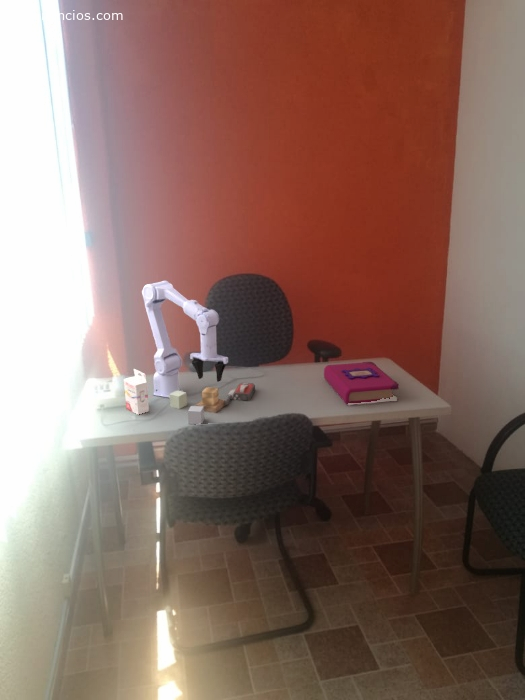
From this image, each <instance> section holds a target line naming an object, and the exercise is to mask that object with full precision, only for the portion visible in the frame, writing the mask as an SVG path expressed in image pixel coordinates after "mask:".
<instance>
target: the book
mask: <svg viewBox="0 0 525 700" xmlns="http://www.w3.org/2000/svg"><path fill="white" fill-rule="evenodd" d="M323 378H324V380H325V382H327V383H328V384H329V386H330V387H331V386H332V387H331V388H332V389H333V390H334V391H335V393H338V394H337V395H338V396H339V397H340V398H341V399H342V400H344V401H343V402H344V403H345V404H346V405H347V404H348V403H361V402H371V401H377V400H380V399H382V398H384V399H386V398H389V399H390V397H393V395H394V394H393V390H398V389H399V383H398V382H397V381H395V380H394V379H392V377H390V376H389V375H388V374H387V373H386V372H385V371H383V370H382V369H381V368H379V366H377V364H375V362H372V361H362V362H353V363H352V362H351V363H341V364H340V363H338V364H337V363H336V364H328V365H326V366H325V367H324V369H323ZM392 394H393V395H392Z"/></svg>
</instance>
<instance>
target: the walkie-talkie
mask: <svg viewBox="0 0 525 700" xmlns="http://www.w3.org/2000/svg"><path fill="white" fill-rule="evenodd" d="M255 391H256V385H255V384H254V383H252V382H241V383H239V384H238V386H237V387H236V388H234V389H231V390H230V391H229V392H228V394H227V399H226V400H225V404H224V406H227V405H228V404H229V402H230V400H234V401H236V400H238V401H244V402H245V401H250V400H251V398H252V397H253V395H254V393H255Z"/></svg>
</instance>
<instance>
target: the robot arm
mask: <svg viewBox="0 0 525 700" xmlns="http://www.w3.org/2000/svg"><path fill="white" fill-rule="evenodd" d="M141 294H142V299H143V302H144V307H145V310H146V315H147V318H148V321H149V324H150V328H151V332H152V336H153V338H154V343H155V346H156V349H157V351H156V352H155V353H154V355H153V361H154V369H155V372H154V375H153V377H152V378H153V379H152V380H153V381H152V382H153V394H152V395H153V396H157V397H164V398H169V394H171V393H173V392H175V391H177V390H178V391H182V392H185V390H184V389H180V378H179V375H180V374H179V372H180V368H181V367H182V365H183V359H182V357H181V356H180V354H179V352H178V349H176V348H175V347H173V346H172V344H171V341H170V340H171V339H170V336H169V334H168V330H167V327H166V326H167V325H166V323H165V319H164V316H163V312H162V308H161V307H162V305H163V304H164V302H165V301H166V300H169V301H170V302H172V303H174V304H176V305H177V306H178V307H181V308H182V310H183V313H184V314H185V315H186V316H188V317H189V318H190V319H192V320H193V321H195V323H196V325H197V328H198V331H199V333H200V334H199V335H200V352H192V353H190V354H189V355H190V356H189V358H190V360H192V361H191V365H192V366H193V367H194V369H195V371H196V374H197V377H198V380H201V379H202V378H204V362H207V361H208V362H213V363H215V364H214V368H215V371H216V372H215V373H216V382H217V383H219V382H221V381H222V379H223V378H222V377H223V373H224V370H225V368H226V366H227V364H228V363H229V357H228V356H224V355H220V354H218V352H217V351H218V349H217V348H218V347H217V325H218V324H219V322H220V316H219V314H218V312H217V311H216V310H214V309H209V308H207V307H204V306H203V305H201V304H200V303H199V302H198V300H195V299H190V300H189V299H188V298H186V297H185V296H184V295H182V294H181V293H180V292H179V291H178V290H177V289H175V288H174V285H173V284H172V283H170V282H169V281H168V280H162V281H158V282H154V283H148V284H145V285H144V286H143V288H142V290H141Z"/></svg>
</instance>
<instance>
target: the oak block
mask: <svg viewBox="0 0 525 700" xmlns="http://www.w3.org/2000/svg"><path fill="white" fill-rule="evenodd" d="M219 399H220V398H219V388H216V387H209V386H207V387H205V388H204V389H203V390H202V391H201V401H202V404H205V405H211V406H214V405H215V404H216V403H217V402H218V401H219Z"/></svg>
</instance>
